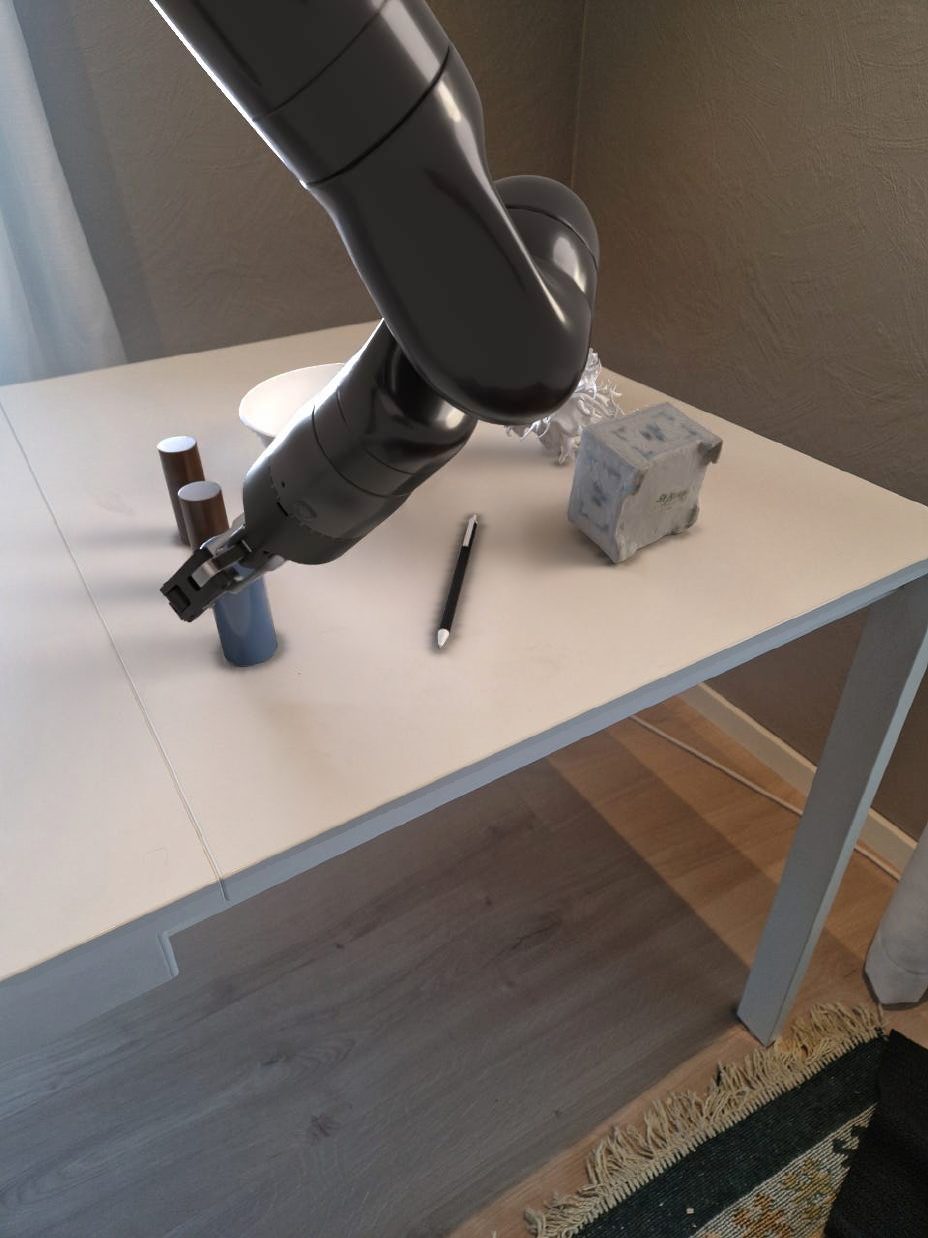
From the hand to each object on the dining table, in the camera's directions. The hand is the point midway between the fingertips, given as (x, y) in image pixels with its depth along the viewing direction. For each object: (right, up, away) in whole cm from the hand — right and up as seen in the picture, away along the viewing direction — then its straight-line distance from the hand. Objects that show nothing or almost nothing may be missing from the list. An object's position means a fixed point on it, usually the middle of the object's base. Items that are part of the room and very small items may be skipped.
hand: (228, 579), depth 61 cm
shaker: (+1, -5, +4) cm, 6 cm away
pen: (+16, 0, +11) cm, 20 cm away
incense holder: (+32, +5, +16) cm, 36 cm away
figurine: (+29, +14, +29) cm, 43 cm away
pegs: (-5, +2, +13) cm, 14 cm away
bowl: (+4, +14, +28) cm, 32 cm away
